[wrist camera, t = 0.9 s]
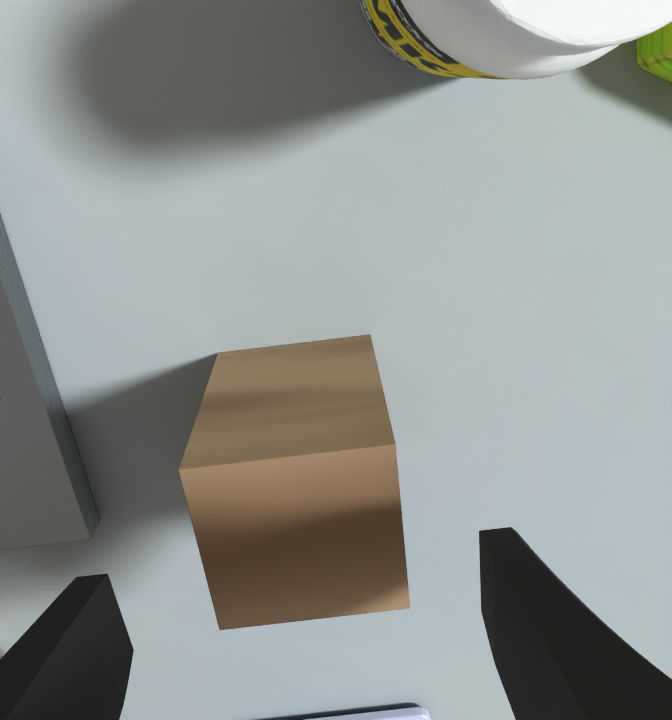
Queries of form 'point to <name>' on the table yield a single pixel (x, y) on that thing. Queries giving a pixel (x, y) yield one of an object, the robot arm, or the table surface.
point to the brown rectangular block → (296, 485)
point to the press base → (34, 432)
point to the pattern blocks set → (656, 52)
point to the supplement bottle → (509, 33)
